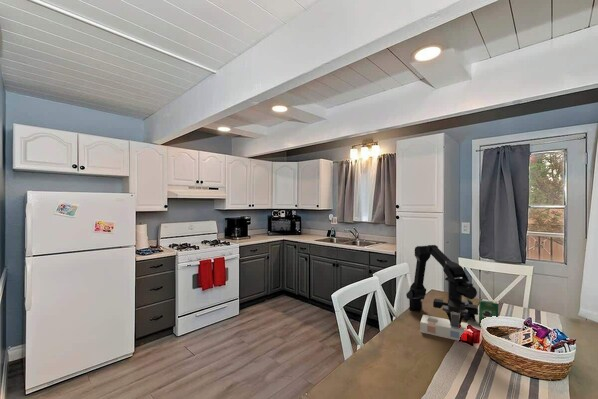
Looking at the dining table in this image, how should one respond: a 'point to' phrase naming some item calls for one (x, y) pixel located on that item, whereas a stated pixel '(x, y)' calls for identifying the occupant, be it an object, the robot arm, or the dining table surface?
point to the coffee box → (487, 309)
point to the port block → (441, 327)
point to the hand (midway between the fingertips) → (455, 323)
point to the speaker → (468, 312)
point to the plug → (455, 319)
